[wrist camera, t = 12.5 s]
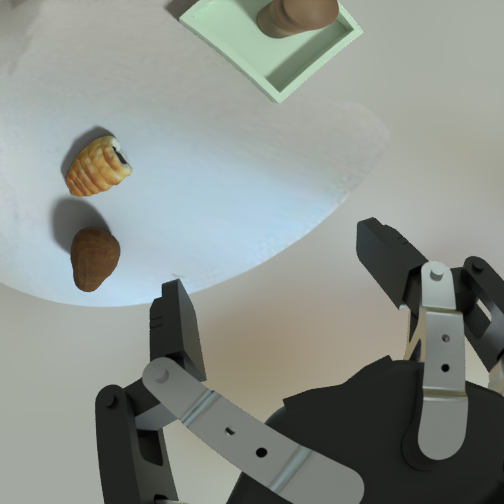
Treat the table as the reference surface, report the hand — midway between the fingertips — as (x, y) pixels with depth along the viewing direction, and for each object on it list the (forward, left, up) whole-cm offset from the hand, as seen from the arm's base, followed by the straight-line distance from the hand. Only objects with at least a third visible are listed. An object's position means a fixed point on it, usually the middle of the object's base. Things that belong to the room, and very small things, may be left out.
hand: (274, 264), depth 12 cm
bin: (-5, +16, -27) cm, 32 cm away
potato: (-3, -23, -28) cm, 36 cm away
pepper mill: (-5, +16, -26) cm, 32 cm away
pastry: (-9, -12, -28) cm, 32 cm away
